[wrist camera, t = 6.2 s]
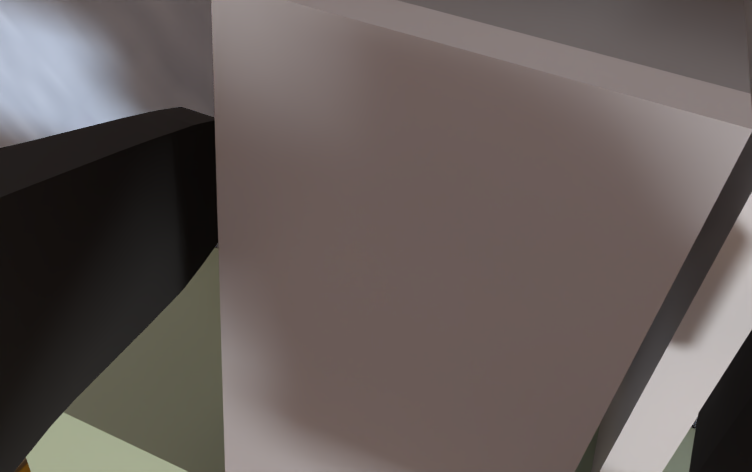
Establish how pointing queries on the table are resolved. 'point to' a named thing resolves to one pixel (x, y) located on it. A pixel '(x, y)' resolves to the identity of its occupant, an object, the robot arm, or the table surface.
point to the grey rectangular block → (456, 218)
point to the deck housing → (603, 455)
